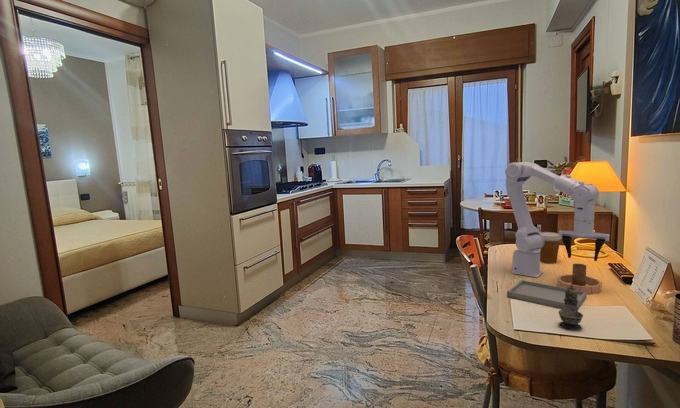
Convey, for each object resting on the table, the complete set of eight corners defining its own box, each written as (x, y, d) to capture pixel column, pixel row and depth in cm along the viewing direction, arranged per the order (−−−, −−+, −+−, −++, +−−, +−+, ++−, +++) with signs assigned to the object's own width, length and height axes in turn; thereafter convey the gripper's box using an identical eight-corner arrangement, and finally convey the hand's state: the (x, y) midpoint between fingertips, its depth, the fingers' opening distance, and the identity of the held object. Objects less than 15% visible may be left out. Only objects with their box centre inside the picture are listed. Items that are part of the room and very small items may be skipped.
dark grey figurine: (553, 322, 108) (554, 281, 107) (572, 320, 109) (574, 280, 107) (567, 331, 102) (568, 289, 101) (587, 330, 103) (589, 287, 101)
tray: (507, 297, 128) (507, 291, 127) (521, 285, 138) (521, 279, 137) (575, 311, 114) (576, 305, 114) (586, 297, 124) (586, 291, 124)
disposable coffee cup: (537, 257, 171) (538, 231, 169) (562, 259, 165) (562, 232, 164) (533, 262, 163) (534, 235, 162) (559, 265, 158) (560, 237, 156)
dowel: (570, 287, 133) (571, 265, 132) (573, 284, 136) (574, 262, 135) (584, 290, 130) (584, 267, 129) (586, 286, 133) (587, 264, 132)
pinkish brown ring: (553, 288, 133) (553, 281, 133) (562, 278, 142) (563, 272, 142) (596, 296, 124) (596, 289, 124) (604, 285, 133) (604, 278, 133)
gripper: (557, 220, 131) (556, 258, 133) (608, 223, 122) (606, 264, 124) (561, 217, 137) (560, 253, 139) (610, 220, 128) (608, 259, 129)
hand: (582, 258), depth 132 cm, fingers open, 7 cm apart
